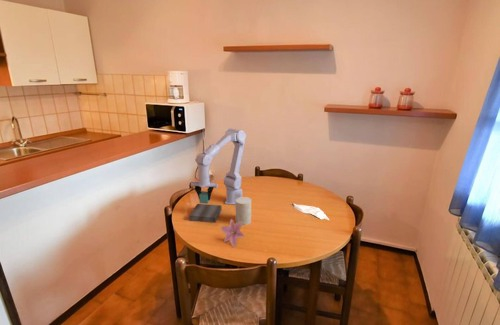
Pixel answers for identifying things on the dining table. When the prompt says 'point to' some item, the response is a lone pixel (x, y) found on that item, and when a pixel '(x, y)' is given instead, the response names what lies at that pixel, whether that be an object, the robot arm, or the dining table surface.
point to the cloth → (311, 211)
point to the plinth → (205, 213)
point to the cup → (243, 210)
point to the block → (204, 197)
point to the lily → (232, 232)
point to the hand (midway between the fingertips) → (204, 199)
